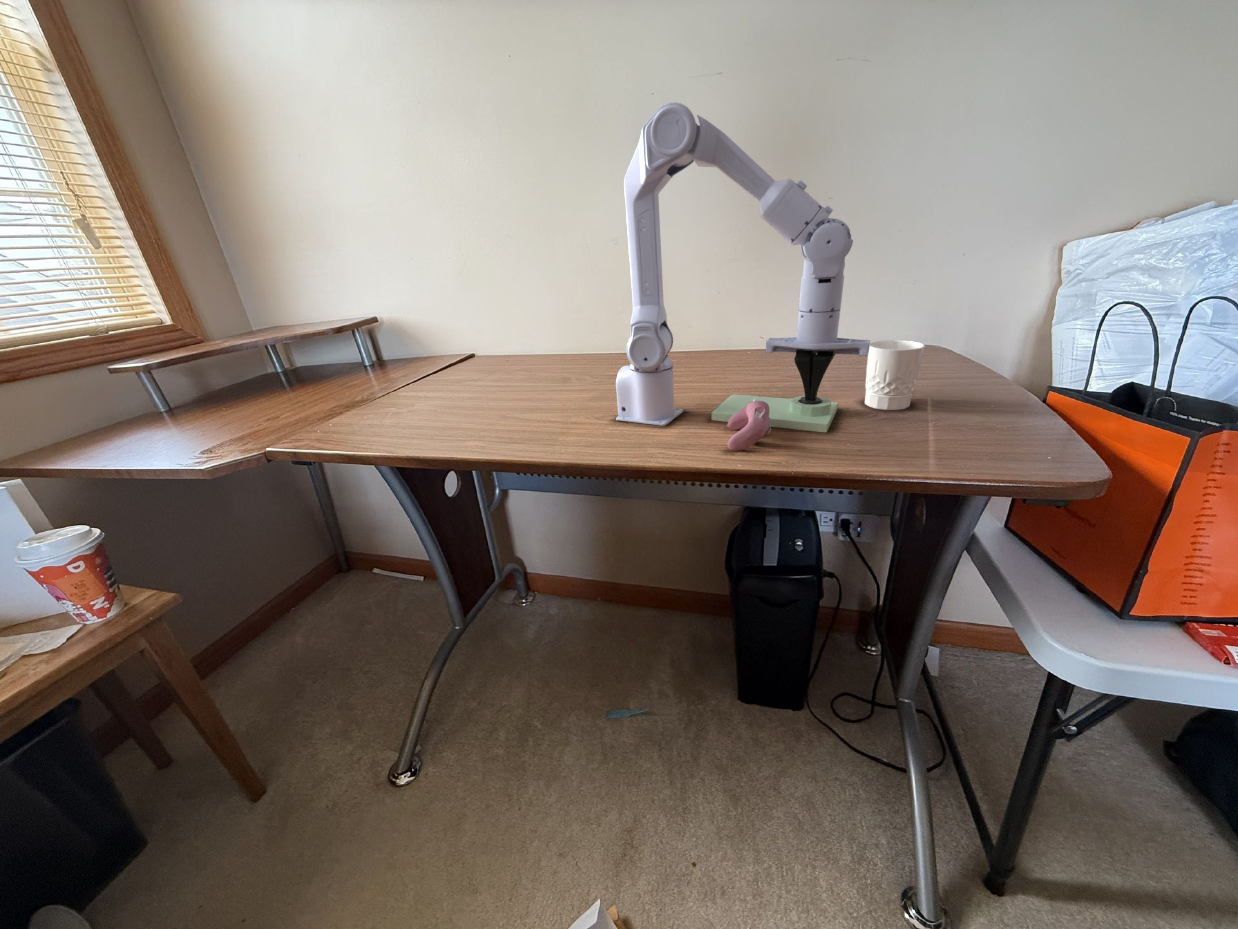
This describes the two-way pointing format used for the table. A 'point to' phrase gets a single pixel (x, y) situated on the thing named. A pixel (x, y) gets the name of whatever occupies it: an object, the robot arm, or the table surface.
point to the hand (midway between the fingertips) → (810, 398)
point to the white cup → (892, 373)
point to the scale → (783, 412)
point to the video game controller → (749, 425)
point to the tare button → (803, 401)
